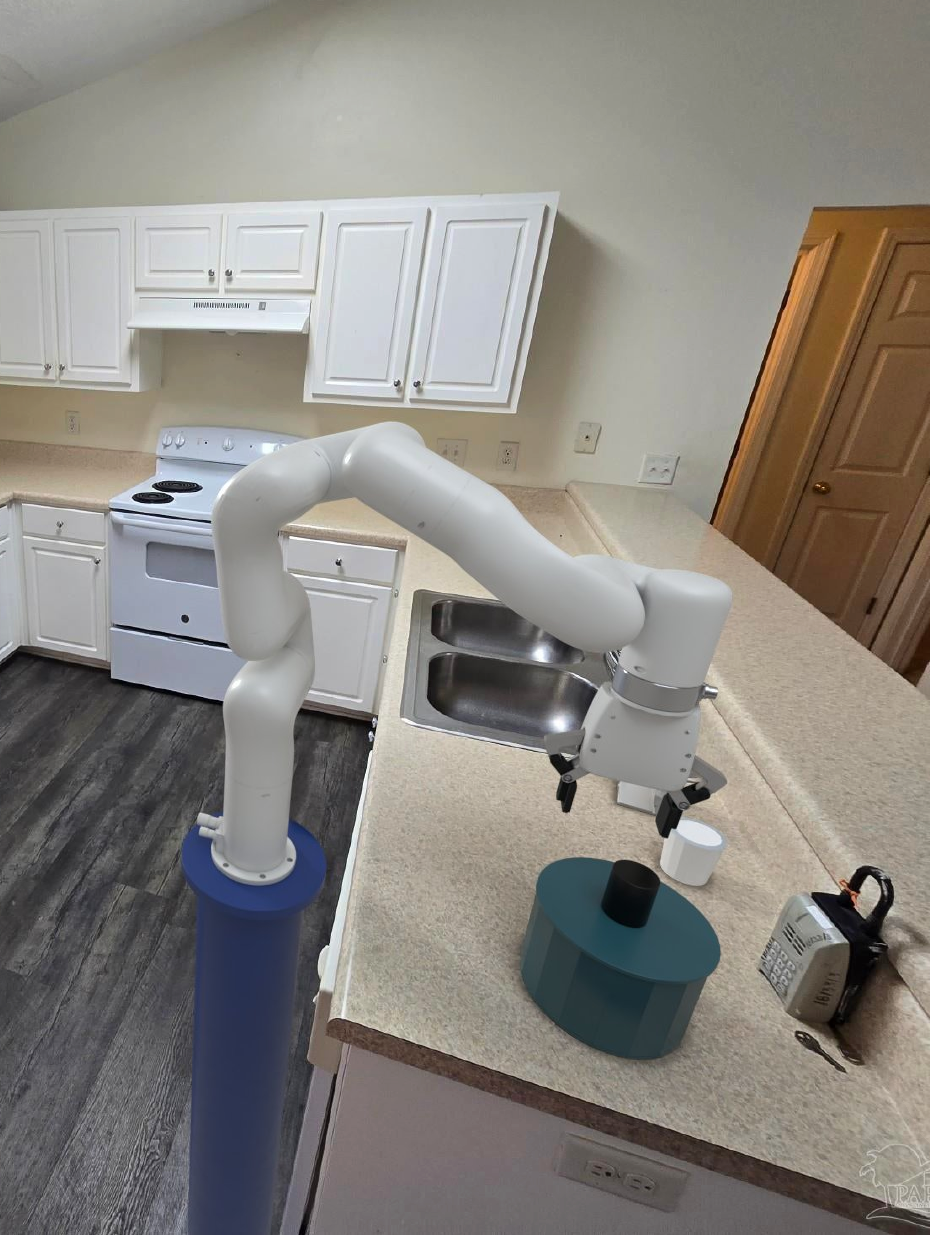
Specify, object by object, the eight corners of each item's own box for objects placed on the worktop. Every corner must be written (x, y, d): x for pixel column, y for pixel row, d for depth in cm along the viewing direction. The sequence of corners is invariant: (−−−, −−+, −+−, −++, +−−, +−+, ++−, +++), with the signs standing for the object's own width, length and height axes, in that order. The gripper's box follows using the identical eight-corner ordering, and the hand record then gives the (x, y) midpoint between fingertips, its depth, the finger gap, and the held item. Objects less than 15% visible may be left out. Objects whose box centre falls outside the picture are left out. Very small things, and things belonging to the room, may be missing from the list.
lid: (539, 953, 73) (552, 906, 71) (530, 848, 88) (541, 805, 85) (740, 1014, 67) (762, 964, 64) (694, 889, 82) (710, 844, 79)
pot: (522, 1024, 77) (544, 948, 73) (517, 916, 91) (534, 847, 87) (701, 1084, 71) (735, 1005, 67) (665, 959, 85) (692, 887, 81)
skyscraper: (668, 824, 109) (722, 664, 98) (608, 806, 113) (654, 651, 102) (666, 795, 116) (716, 643, 105) (609, 780, 119) (652, 631, 109)
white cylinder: (666, 884, 97) (680, 844, 94) (647, 851, 103) (659, 812, 101) (722, 893, 96) (738, 853, 93) (699, 859, 102) (713, 820, 99)
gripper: (743, 688, 73) (693, 819, 79) (559, 655, 79) (527, 779, 86) (767, 723, 67) (710, 862, 73) (565, 684, 73) (529, 815, 79)
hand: (611, 817), depth 79 cm, fingers open, 9 cm apart
